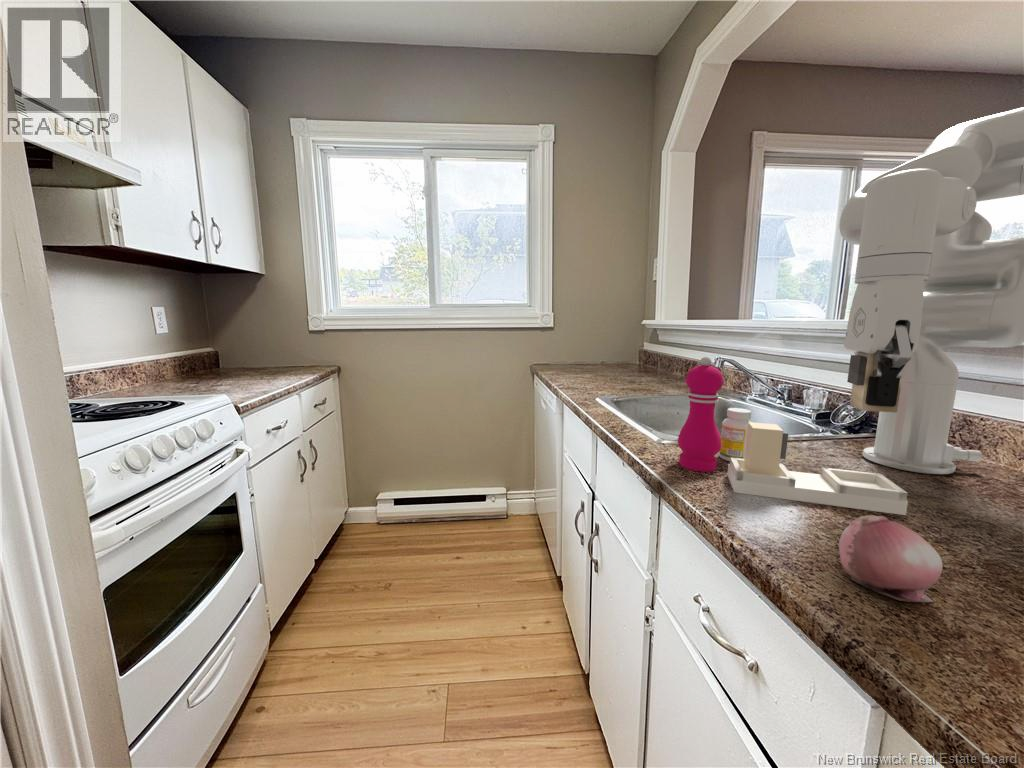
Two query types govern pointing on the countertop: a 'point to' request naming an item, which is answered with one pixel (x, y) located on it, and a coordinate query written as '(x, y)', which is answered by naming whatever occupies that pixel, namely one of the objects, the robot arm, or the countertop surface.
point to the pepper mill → (701, 419)
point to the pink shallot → (889, 558)
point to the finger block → (865, 382)
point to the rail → (807, 477)
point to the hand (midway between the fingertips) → (872, 401)
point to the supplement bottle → (734, 433)
